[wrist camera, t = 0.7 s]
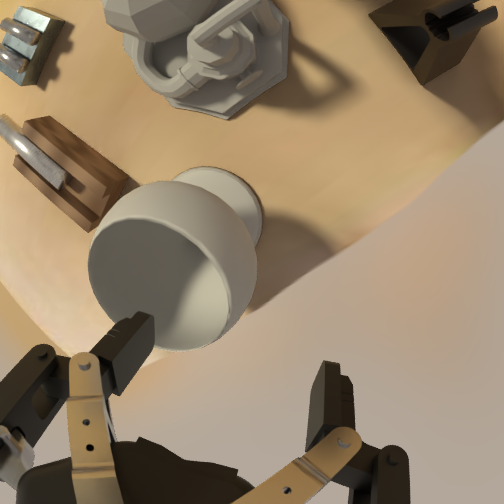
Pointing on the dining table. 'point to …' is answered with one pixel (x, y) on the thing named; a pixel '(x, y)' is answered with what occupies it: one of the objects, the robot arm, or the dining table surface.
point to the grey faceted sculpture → (204, 49)
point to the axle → (33, 153)
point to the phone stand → (431, 32)
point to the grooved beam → (73, 173)
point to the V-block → (27, 44)
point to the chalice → (180, 256)
